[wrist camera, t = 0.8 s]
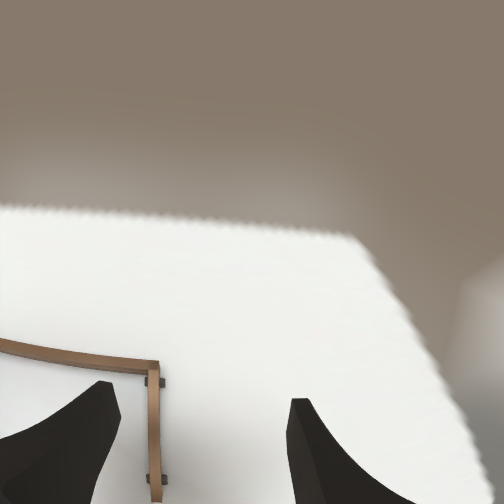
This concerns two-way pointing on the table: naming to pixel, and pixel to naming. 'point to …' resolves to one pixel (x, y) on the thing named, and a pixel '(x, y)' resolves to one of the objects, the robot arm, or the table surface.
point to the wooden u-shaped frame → (114, 365)
